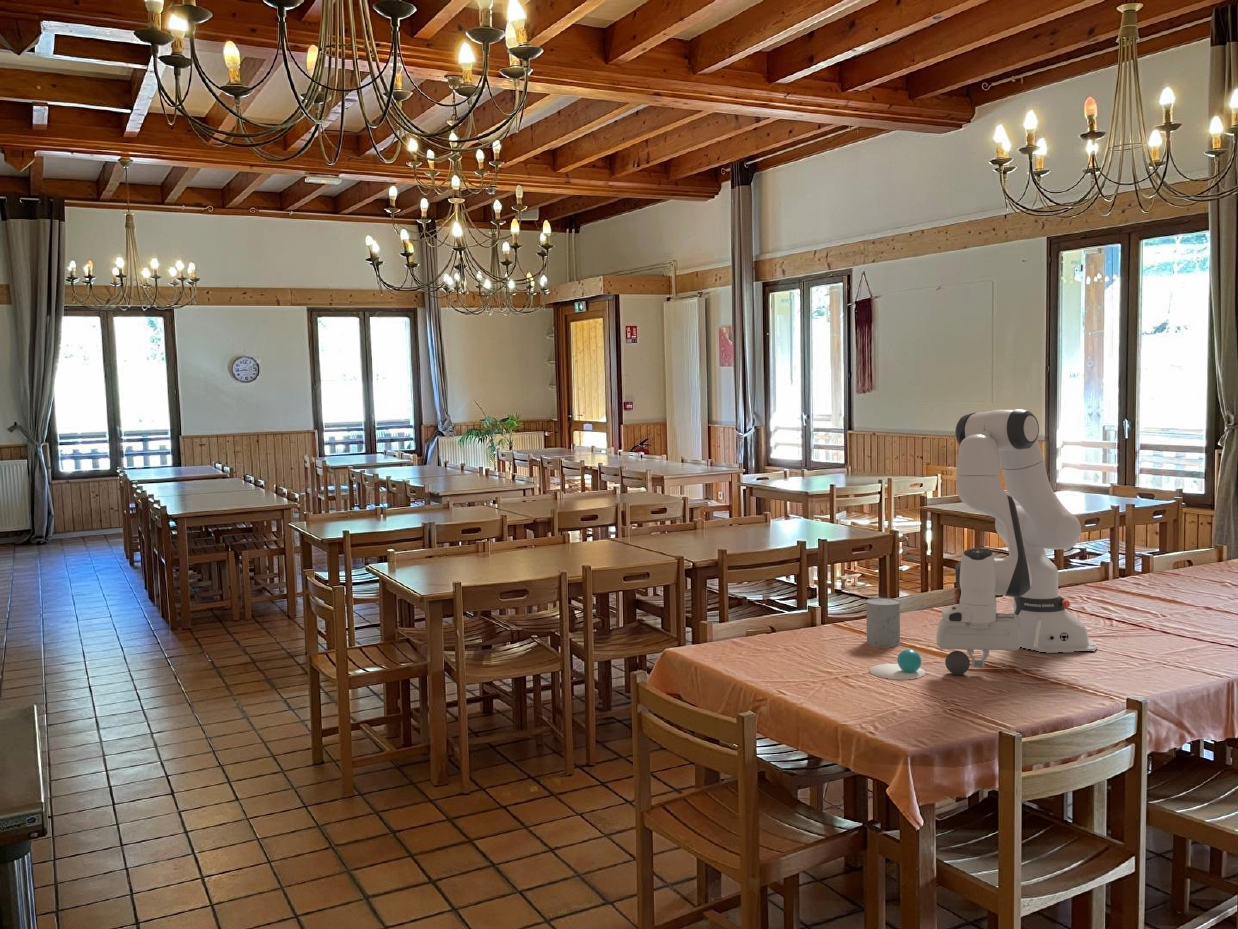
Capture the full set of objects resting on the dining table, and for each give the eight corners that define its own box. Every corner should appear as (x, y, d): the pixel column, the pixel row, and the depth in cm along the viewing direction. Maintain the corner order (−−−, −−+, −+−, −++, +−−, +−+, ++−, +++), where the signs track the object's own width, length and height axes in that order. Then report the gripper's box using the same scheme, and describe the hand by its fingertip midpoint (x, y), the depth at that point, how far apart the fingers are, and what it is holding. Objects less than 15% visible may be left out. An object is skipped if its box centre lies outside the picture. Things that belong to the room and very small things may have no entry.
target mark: (922, 665, 266) (922, 664, 266) (927, 680, 252) (927, 679, 252) (868, 663, 269) (868, 663, 269) (870, 679, 255) (870, 678, 255)
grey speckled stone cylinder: (901, 640, 292) (901, 598, 291) (899, 648, 283) (899, 605, 282) (867, 638, 295) (867, 597, 294) (864, 646, 286) (864, 604, 285)
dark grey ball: (953, 643, 259) (938, 660, 260) (958, 650, 253) (942, 668, 254) (971, 657, 259) (956, 674, 260) (977, 665, 253) (961, 682, 254)
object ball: (914, 643, 262) (892, 651, 263) (916, 649, 256) (894, 657, 257) (924, 664, 262) (902, 672, 263) (926, 670, 256) (903, 678, 257)
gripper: (1018, 611, 256) (1018, 663, 257) (935, 609, 260) (935, 661, 261) (1023, 616, 250) (1023, 670, 251) (938, 615, 254) (938, 668, 255)
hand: (978, 666), depth 256 cm, fingers closed
